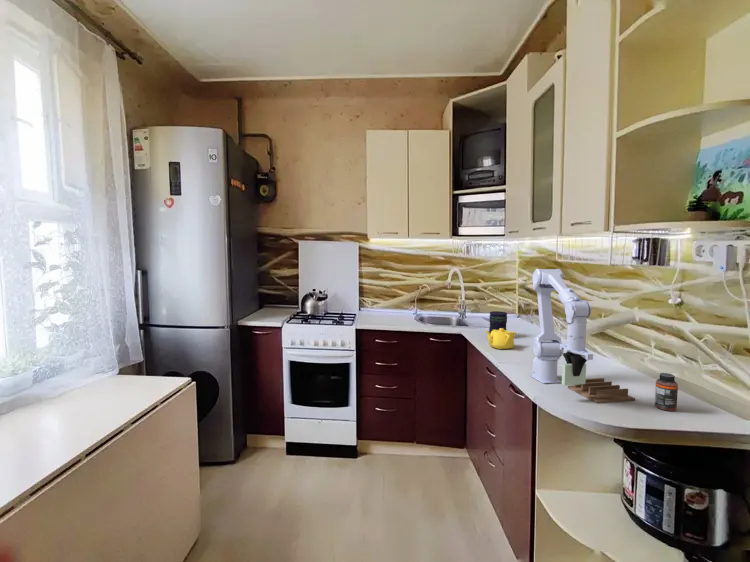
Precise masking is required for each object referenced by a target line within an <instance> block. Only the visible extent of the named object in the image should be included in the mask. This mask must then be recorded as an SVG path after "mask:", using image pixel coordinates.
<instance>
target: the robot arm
mask: <svg viewBox="0 0 750 562" xmlns="http://www.w3.org/2000/svg"><path fill="white" fill-rule="evenodd" d="M532 288H533V291H535V292H536V295H537V304H538V306H537V307H538V318H539V320H538V321H539V330H540V331H539V332H540V333H538V334H537V336H535V337H534V338H533V348H532V350H533V353H534V355H535V357H534V358H533V360H532V369H531V370H532V373H531V375H529V376H530V377H532V378H533V379H535V380H536V381H539V382H540V383H542V384H556V383H557V384H559V383H560V384H562V380H560V379H559V378H558V376H557V375H558V360H560V358H561V357H562V356H563V358H564V360H565V362H566V363H565V364H572V367H573V376H580V373H581V371H582V368H583V366H584V364H586V363H587V361H591V360H592V361H593V360H594V354H593V353H592V352H590V351H588V350H587V349H586V338H587V322H588V321H587V319H588V318H589V317H590V316H591V313H592V307H591V304H590V303H589V301H588V300H584V299H582V298H581V297H580V296H579V295H578V293H576V292H575V290H574V289H573V288H571V287H568V285H566V282H565V281H564V273H563V271H562V270H561V268H555V269H551V268H550V269H549V268H536V269H535V270H534V271H533V273H532ZM554 291H556V292H557V293H558V296H557V299H559V301H560V303H561V304H562V305H563V306H564V313H565V316H566V317H565V321H566V322H567V328H566V329H567V330H566V333H567V334H566V343H563V342H562V338H561V337H560V336H559V335H557V334H556V333H555V329H554V327H555V326H554V317H553V315H554V314H553V308H552V305H553V304H552V295H551V294H552V292H554ZM564 351H565V352H564Z"/></svg>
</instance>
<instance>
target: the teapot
mask: <svg viewBox="0 0 750 562" xmlns="http://www.w3.org/2000/svg"><path fill="white" fill-rule="evenodd" d="M485 332H486V334H487V341H488V344H489V346H490V347H492V348H495V349H497V350H502V349H504V350H510V349H513V347H514V345H515V337H516V335H517V333H516V331H509V330H504V329H503V328H499V330H492V331H491V334H490V332H489V330H485Z"/></svg>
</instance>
